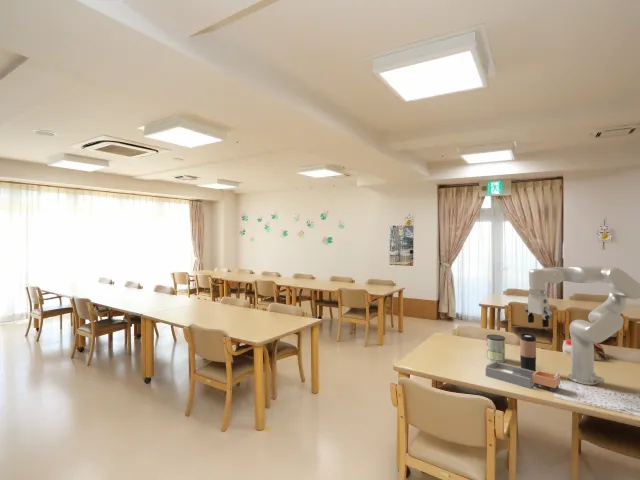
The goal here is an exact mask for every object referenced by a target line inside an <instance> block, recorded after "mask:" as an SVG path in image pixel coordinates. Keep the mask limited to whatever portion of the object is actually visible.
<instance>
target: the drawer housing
mask: <svg viewBox="0 0 640 480" xmlns="http://www.w3.org/2000/svg"><path fill="white" fill-rule="evenodd" d="M535 372H536V371H531V370H527V369H523V368H521V367H520V366H515V365H510V364H506V363H504V362H497V361H491V362H490V363H488V364H486V367H485V376H486V377H489V378H492V379H496V380H500V381H502V382H507V383H511V384H513V385H517V386H520V387H525V388H528V389H532V388H533V387H535V386H534V382H532V374H533V373H535Z"/></svg>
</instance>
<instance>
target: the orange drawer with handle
mask: <svg viewBox="0 0 640 480" xmlns="http://www.w3.org/2000/svg"><path fill="white" fill-rule="evenodd" d="M532 382H534V386H533V387H535V388H539V387H540V385H541V386H545V387H549V391H550V392H552V393H554V392H556V389H559V385H560V384H561V376H560V372H557V373H556V374H554V373H550V372H546V371H542V370H537V369H536V371H535V373H533V374H532Z"/></svg>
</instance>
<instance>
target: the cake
mask: <svg viewBox="0 0 640 480" xmlns="http://www.w3.org/2000/svg"><path fill="white" fill-rule="evenodd" d="M593 346H594V361H606V360H610V358H609V357H607V356H606V353H605V351H604V348H603V347H602V345H601V344H600V343H593ZM562 352H563V353H564V354H565V353H567V354H566V355H567V356H570V357H571V338H569V339H566V340H564V341H563V343H562Z"/></svg>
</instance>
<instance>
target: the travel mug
mask: <svg viewBox="0 0 640 480" xmlns="http://www.w3.org/2000/svg"><path fill="white" fill-rule="evenodd" d="M519 346H520V353H519V354H520V356H519V357H520V368H523V369H527V370H531V371H535V372H536V371H537V369H536V367H537V364H536V363H537V337H536V335H534V334H531V333H521V334H520V345H519Z"/></svg>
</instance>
